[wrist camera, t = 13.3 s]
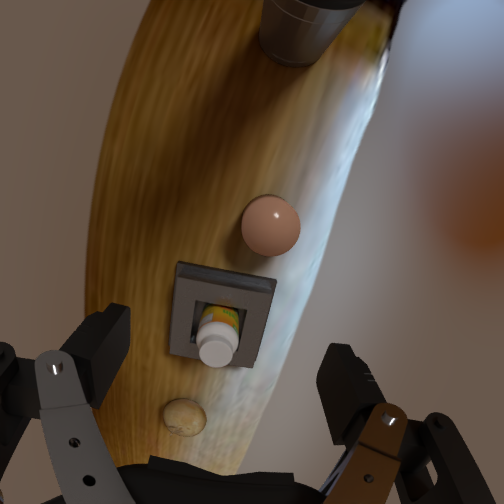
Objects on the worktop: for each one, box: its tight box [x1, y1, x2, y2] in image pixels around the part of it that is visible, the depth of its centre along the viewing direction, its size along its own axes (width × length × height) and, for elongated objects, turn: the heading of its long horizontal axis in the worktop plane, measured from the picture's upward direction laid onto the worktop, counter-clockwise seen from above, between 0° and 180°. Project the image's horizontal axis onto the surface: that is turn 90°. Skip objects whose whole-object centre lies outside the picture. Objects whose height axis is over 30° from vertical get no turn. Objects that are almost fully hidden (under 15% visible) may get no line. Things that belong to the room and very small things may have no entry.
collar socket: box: [169, 261, 277, 368], centre depth 42 cm, size 14×14×4 cm
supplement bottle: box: [196, 303, 239, 367], centre depth 38 cm, size 5×5×10 cm
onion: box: [163, 399, 207, 437], centre depth 46 cm, size 8×8×7 cm
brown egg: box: [242, 194, 300, 256], centre depth 38 cm, size 7×7×5 cm
